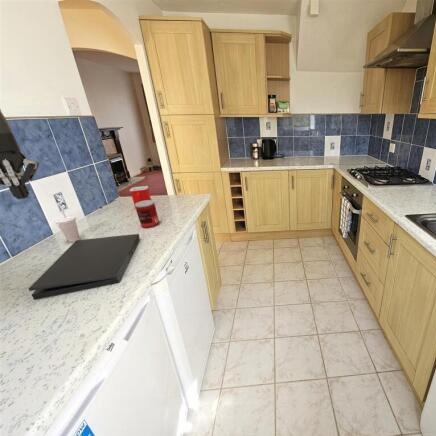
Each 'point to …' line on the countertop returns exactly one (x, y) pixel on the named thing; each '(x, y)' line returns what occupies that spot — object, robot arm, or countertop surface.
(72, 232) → the smoothie
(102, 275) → the laptop screen
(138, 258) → the countertop surface
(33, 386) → the countertop surface
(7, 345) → the countertop surface
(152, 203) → the canned food
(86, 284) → the laptop
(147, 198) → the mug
